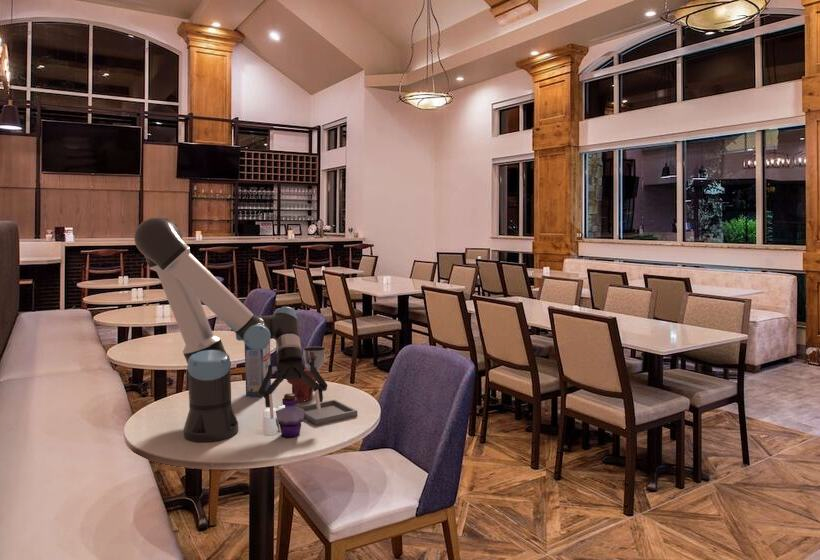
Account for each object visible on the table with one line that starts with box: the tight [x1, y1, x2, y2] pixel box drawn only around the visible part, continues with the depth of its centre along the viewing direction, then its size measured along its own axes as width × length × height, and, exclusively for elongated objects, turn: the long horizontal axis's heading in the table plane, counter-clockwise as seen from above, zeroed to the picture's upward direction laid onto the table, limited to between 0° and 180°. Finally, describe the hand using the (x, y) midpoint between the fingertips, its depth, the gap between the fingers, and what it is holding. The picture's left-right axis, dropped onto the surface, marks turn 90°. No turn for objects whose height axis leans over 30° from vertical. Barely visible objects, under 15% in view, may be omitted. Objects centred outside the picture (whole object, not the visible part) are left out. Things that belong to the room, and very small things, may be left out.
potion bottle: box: [275, 393, 304, 439], centre depth 171 cm, size 9×9×12 cm
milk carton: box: [244, 341, 272, 398], centre depth 213 cm, size 10×6×20 cm, turn 178°
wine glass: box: [303, 345, 326, 390], centre depth 219 cm, size 8×8×15 cm
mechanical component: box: [286, 363, 317, 403], centre depth 205 cm, size 12×10×10 cm
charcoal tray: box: [295, 399, 358, 426], centre depth 190 cm, size 15×15×2 cm
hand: (295, 414), depth 172 cm, fingers open, 13 cm apart
